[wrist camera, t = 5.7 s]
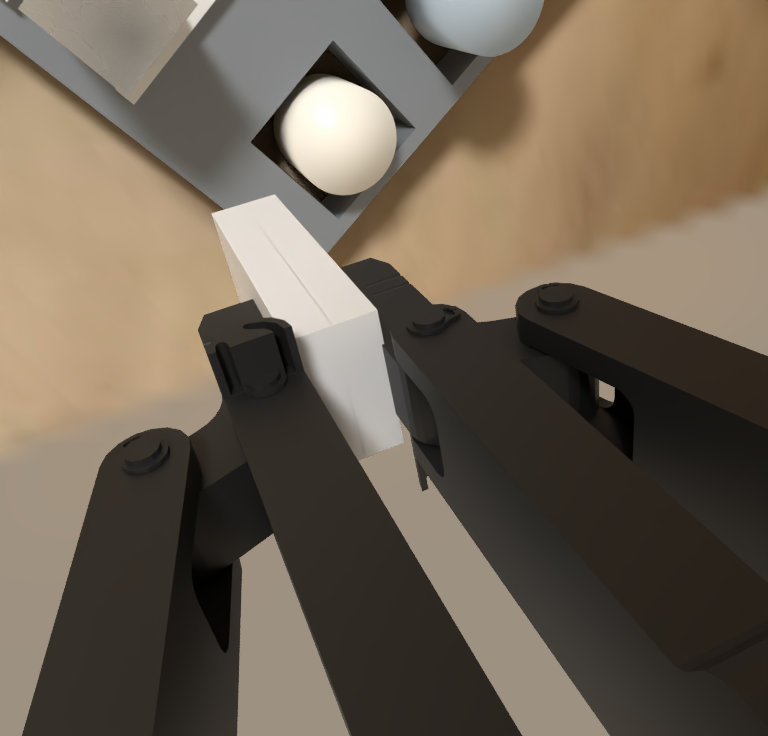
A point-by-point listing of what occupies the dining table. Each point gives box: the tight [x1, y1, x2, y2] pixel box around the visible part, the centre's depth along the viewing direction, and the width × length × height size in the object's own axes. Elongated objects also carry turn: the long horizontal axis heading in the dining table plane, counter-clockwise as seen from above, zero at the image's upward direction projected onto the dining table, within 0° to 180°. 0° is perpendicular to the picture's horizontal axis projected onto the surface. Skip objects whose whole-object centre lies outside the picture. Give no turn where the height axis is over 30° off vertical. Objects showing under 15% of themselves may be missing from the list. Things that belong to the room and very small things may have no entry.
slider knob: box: [18, 0, 198, 97], centre depth 21 cm, size 3×3×5 cm
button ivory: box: [274, 74, 397, 195], centre depth 28 cm, size 4×4×3 cm
